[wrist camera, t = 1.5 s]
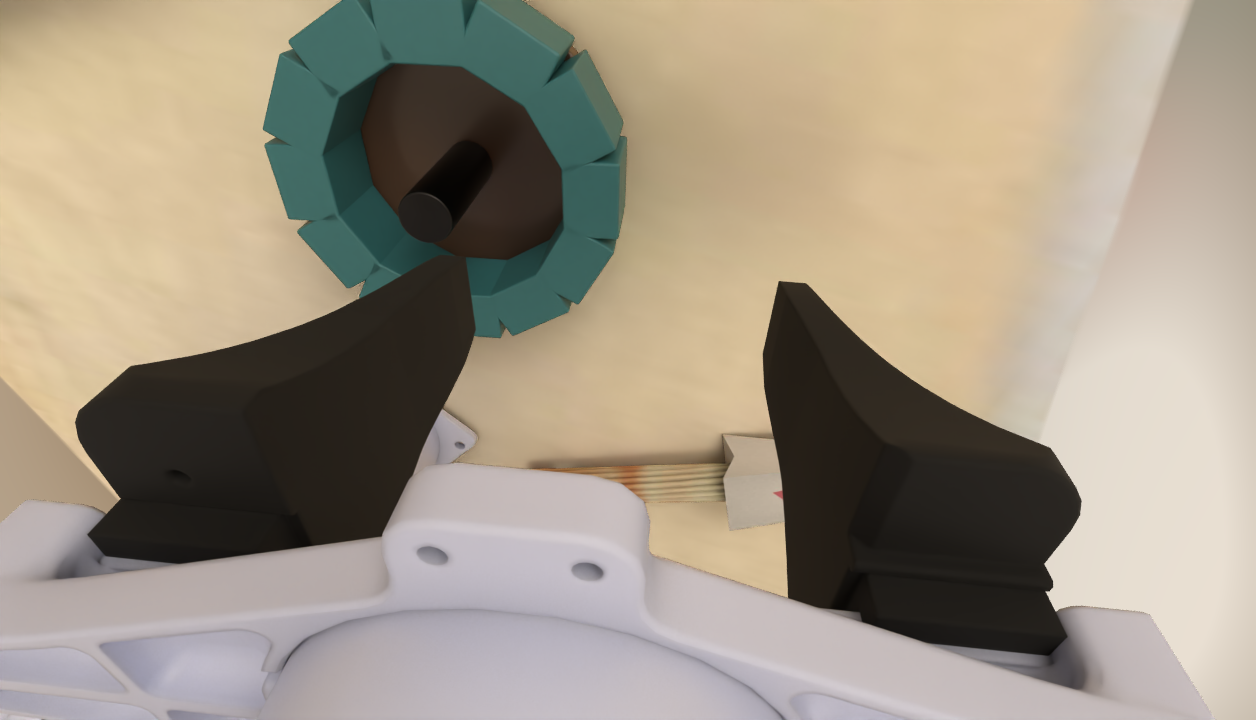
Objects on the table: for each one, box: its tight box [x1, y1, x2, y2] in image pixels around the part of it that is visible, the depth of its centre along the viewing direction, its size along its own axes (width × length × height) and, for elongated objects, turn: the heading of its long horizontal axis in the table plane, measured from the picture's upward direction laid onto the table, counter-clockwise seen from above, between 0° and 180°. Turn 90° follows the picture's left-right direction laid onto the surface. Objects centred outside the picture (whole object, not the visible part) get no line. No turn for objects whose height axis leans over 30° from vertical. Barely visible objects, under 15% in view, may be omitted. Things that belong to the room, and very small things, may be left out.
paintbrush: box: [533, 434, 785, 531], centre depth 29 cm, size 4×3×20 cm
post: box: [360, 46, 578, 260], centre depth 20 cm, size 10×10×6 cm
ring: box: [263, 0, 627, 338], centre depth 20 cm, size 11×11×3 cm
